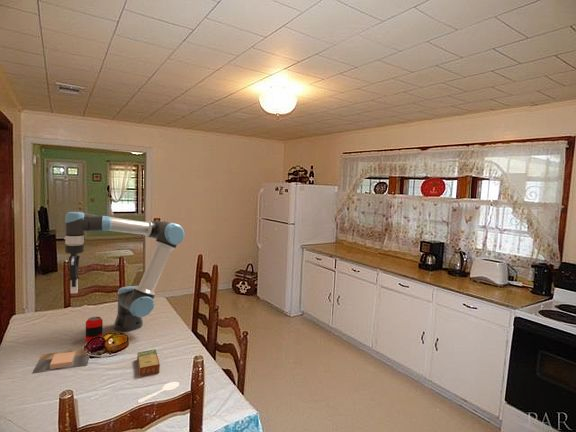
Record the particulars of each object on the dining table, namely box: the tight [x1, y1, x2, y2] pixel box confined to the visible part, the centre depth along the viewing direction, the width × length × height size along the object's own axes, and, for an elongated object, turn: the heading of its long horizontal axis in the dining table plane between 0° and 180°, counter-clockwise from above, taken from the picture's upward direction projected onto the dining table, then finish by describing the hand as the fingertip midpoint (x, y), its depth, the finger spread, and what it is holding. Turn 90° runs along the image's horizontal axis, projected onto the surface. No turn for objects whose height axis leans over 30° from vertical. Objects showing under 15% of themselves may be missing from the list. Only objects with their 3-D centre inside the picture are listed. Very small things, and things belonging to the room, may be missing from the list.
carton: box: [136, 349, 161, 377], centre depth 155 cm, size 8×16×4 cm, turn 27°
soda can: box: [85, 316, 104, 343], centre depth 176 cm, size 8×8×12 cm
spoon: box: [137, 381, 180, 404], centre depth 135 cm, size 5×18×1 cm, turn 143°
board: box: [31, 348, 91, 375], centre depth 154 cm, size 20×18×1 cm
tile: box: [50, 352, 75, 369], centre depth 152 cm, size 8×2×10 cm
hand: (74, 292), depth 164 cm, fingers closed
